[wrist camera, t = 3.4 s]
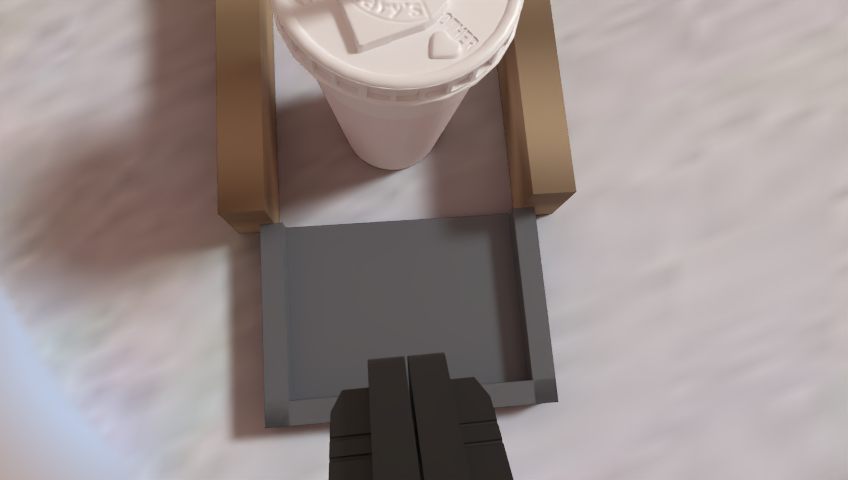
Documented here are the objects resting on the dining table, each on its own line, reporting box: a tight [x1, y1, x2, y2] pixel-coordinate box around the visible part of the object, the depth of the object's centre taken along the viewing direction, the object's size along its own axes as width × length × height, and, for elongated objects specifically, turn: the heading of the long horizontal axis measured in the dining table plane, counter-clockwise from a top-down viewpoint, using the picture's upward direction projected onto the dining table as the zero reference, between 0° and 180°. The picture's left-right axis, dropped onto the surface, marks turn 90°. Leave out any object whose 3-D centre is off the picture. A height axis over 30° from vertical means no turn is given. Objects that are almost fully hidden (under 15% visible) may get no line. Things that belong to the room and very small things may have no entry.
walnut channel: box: [215, 0, 576, 233], centre depth 23 cm, size 12×12×3 cm
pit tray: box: [260, 207, 558, 428], centre depth 22 cm, size 7×10×1 cm
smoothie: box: [270, 0, 524, 170], centre depth 17 cm, size 6×6×14 cm
